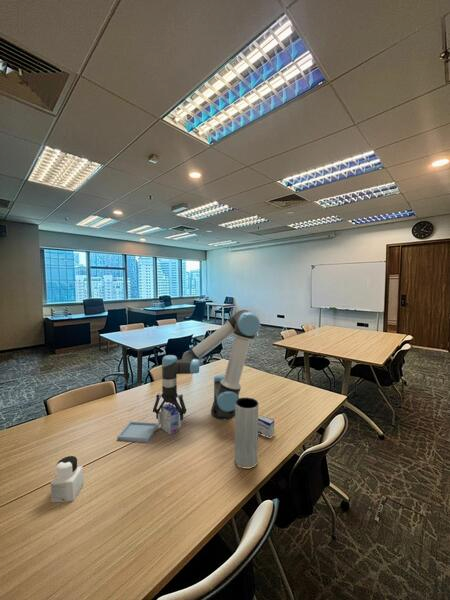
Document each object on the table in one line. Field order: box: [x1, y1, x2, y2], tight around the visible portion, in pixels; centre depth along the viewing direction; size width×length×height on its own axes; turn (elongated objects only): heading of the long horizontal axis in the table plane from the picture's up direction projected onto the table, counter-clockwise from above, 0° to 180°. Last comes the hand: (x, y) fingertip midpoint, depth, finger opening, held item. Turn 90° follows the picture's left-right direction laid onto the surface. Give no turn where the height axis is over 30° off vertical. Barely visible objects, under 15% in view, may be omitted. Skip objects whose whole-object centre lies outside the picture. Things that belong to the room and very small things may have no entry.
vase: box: [234, 397, 259, 467], centre depth 111 cm, size 10×10×27 cm
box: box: [258, 415, 275, 437], centre depth 132 cm, size 8×4×9 cm, turn 52°
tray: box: [116, 420, 159, 443], centre depth 132 cm, size 16×14×2 cm
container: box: [50, 455, 84, 503], centre depth 94 cm, size 8×8×13 cm
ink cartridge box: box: [160, 403, 180, 436], centre depth 135 cm, size 10×6×14 cm, turn 45°
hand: (169, 425), depth 136 cm, fingers closed on ink cartridge box, 10 cm apart
